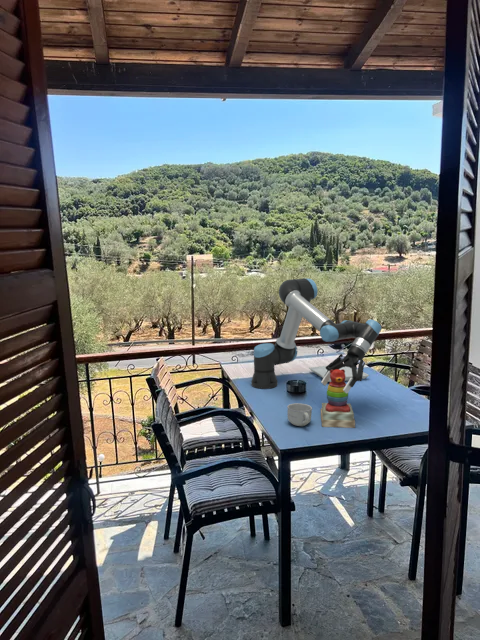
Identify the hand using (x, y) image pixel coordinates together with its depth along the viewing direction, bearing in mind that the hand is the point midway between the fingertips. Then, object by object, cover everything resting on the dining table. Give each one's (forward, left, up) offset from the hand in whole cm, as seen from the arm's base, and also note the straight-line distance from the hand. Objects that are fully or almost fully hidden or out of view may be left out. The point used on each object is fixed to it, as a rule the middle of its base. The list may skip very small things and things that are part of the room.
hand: (333, 387), depth 188 cm
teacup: (-15, -4, -16) cm, 22 cm away
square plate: (+8, +71, -17) cm, 74 cm away
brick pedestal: (+2, +1, -16) cm, 16 cm away
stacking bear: (+2, +2, -10) cm, 10 cm away
